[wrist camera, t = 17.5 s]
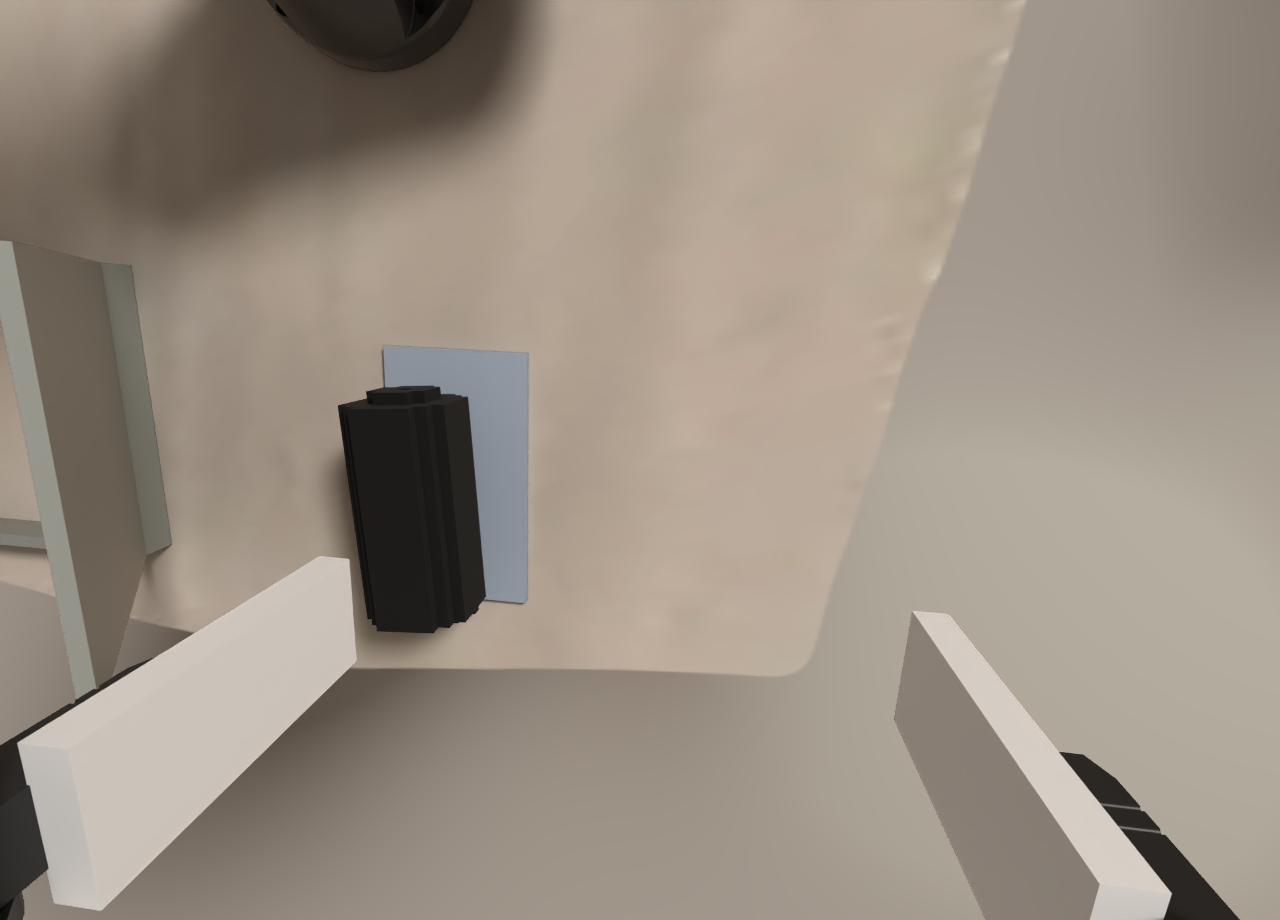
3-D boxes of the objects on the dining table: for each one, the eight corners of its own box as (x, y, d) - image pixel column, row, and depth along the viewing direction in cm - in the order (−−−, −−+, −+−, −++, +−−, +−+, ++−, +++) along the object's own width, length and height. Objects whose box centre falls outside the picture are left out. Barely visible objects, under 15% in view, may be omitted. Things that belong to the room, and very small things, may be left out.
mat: (387, 345, 46) (383, 345, 45) (528, 352, 45) (526, 353, 44) (399, 587, 51) (396, 590, 50) (527, 599, 50) (525, 603, 49)
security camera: (428, 603, 50) (360, 672, 40) (402, 379, 46) (320, 396, 36) (509, 605, 49) (460, 676, 40) (491, 378, 45) (431, 395, 35)
